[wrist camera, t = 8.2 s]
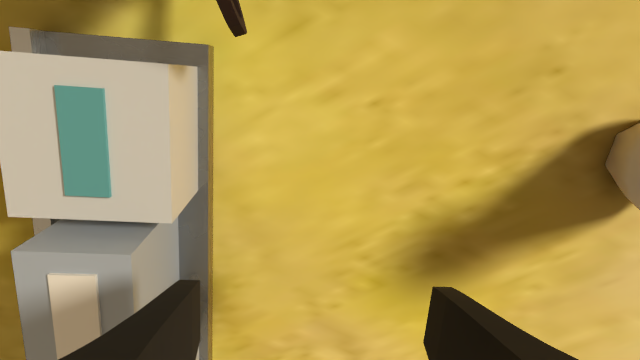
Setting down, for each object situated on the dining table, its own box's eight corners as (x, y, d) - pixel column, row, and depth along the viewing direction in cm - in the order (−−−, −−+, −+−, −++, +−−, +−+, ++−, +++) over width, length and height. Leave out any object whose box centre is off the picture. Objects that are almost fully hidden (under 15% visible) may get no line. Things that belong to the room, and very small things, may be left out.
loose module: (180, 306, 21) (137, 396, 15) (103, 304, 21) (28, 396, 15) (177, 201, 19) (129, 256, 14) (94, 197, 19) (7, 252, 13)
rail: (211, 411, 24) (204, 443, 22) (78, 412, 24) (58, 445, 22) (213, 46, 19) (203, 43, 17) (39, 32, 18) (6, 26, 16)
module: (198, 190, 19) (170, 225, 15) (72, 184, 19) (4, 218, 14) (197, 66, 18) (166, 63, 13) (60, 55, 17) (-19, 49, 13)
